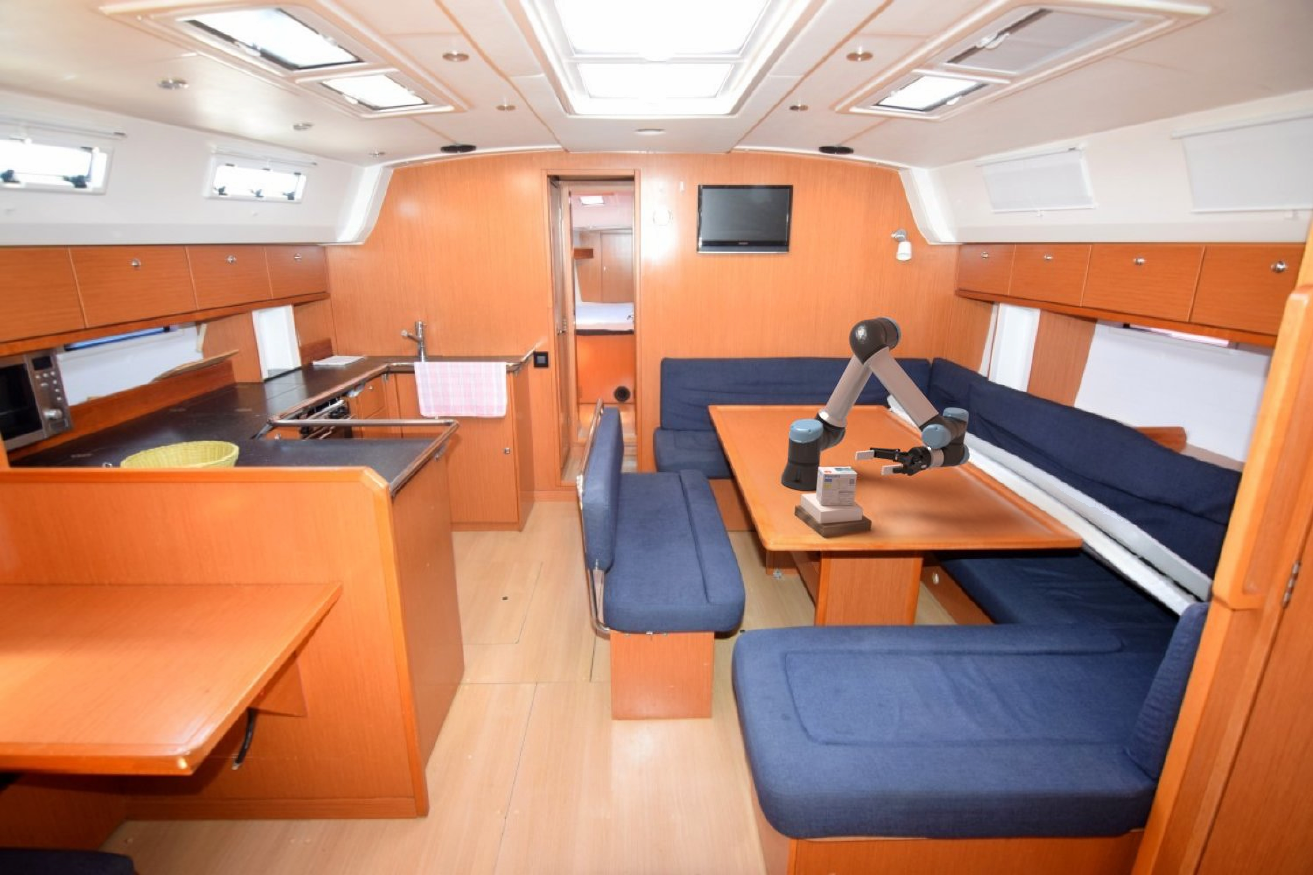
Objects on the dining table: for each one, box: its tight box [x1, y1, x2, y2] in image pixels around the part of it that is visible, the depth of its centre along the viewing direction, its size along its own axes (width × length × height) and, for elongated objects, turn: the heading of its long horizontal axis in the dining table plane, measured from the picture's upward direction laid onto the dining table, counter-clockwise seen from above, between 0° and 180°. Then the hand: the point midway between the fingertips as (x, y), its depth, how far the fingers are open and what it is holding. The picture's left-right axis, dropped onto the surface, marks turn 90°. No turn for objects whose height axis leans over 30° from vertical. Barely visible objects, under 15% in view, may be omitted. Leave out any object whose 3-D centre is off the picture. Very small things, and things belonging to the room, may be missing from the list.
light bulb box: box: [815, 466, 858, 505], centre depth 193 cm, size 11×7×11 cm, turn 92°
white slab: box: [800, 492, 864, 524], centre depth 196 cm, size 14×14×4 cm
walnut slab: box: [794, 504, 873, 538], centre depth 197 cm, size 17×17×4 cm
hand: (868, 463), depth 194 cm, fingers open, 13 cm apart
